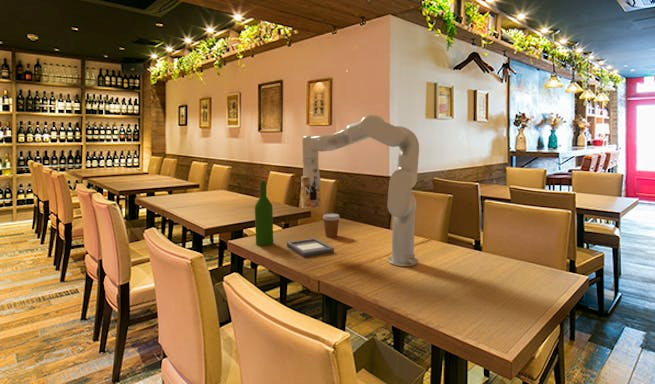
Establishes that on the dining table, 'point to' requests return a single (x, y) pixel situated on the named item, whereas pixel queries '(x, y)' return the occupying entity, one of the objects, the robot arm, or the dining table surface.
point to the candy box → (306, 195)
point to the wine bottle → (263, 219)
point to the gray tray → (310, 247)
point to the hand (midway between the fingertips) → (310, 198)
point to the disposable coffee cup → (331, 224)
